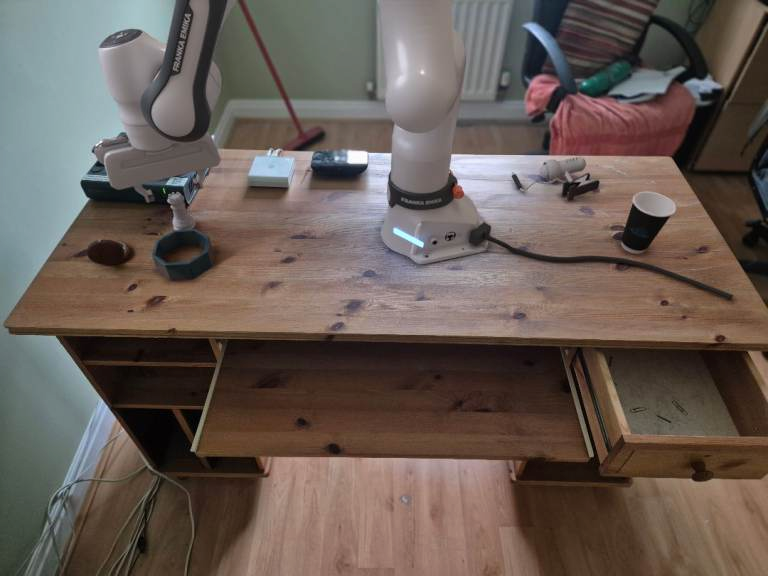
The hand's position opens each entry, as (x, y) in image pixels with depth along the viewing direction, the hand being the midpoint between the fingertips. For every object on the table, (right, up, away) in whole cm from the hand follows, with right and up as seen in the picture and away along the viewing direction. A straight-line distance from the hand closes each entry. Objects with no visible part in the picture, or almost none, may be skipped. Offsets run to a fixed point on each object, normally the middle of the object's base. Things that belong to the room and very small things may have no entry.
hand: (175, 194), depth 99 cm
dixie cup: (+94, -10, +5) cm, 94 cm away
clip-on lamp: (+81, +5, +19) cm, 83 cm away
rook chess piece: (-1, -6, +6) cm, 9 cm away
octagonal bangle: (+3, -14, -1) cm, 14 cm away
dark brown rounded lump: (-12, -13, -1) cm, 18 cm away
